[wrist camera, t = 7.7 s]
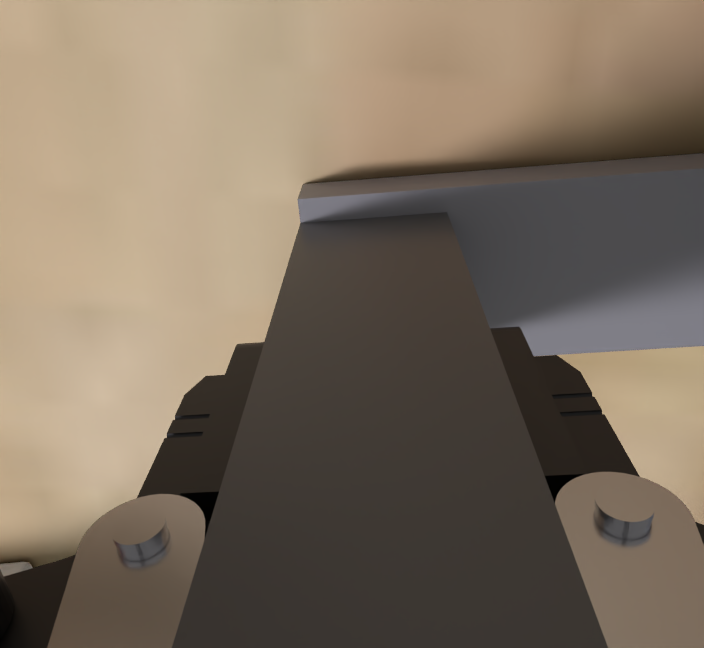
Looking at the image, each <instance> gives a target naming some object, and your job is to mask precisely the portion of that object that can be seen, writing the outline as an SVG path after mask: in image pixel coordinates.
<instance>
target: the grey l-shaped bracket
mask: <svg viewBox="0 0 704 648" xmlns="http://www.w3.org/2000/svg"><path fill="white" fill-rule="evenodd" d="M298 206H299V214H300V222H301V223H300V227H299V230H298V233H297V236H296V240H295V243H294V246H293V250H292V253H291V256H290V260H289V263H288V266H287V269H286V273H285V276H284V279H283V283H282V286H281V289H280V293H279V296H278V299H277V302H276V306H275V309H274V312H273V316H272V319H271V322H270V325H269V329H268V332H267V335H266V339H265V342H264V345H263V349H262V352H261V355H260V358H259V362H258V365H257V368H256V372H255V375H254V378H253V382H252V385H251V388H250V391H249V395H248V398H247V401H246V405H245V408H244V411H243V414H242V418H241V421H240V424H239V428H238V431H237V434H236V438H235V441H234V444H233V447H232V451H231V454H230V457H229V461H228V464H227V467H226V471H225V474H224V477H223V480H222V484H221V487H220V490H219V494H218V497H217V500H216V504H215V507H214V510H213V513H212V517H211V520H210V523H209V527H208V530H207V533H206V536H205V540H204V543H203V546H202V550H201V553H200V556H199V560H198V563H197V566H196V569H195V573H194V576H193V579H192V583H191V586H190V589H189V593H188V596H187V599H186V602H185V606H184V609H183V612H182V616H181V619H180V622H179V625H178V629H177V632H176V635H175V639H174V642H173V645H172V648H608V646H607V643H606V641H605V638H604V635H603V633H602V630H601V627H600V624H599V622H598V619H597V616H596V614H595V611H594V608H593V606H592V603H591V600H590V597H589V595H588V592H587V589H586V587H585V584H584V581H583V578H582V576H581V573H580V570H579V568H578V565H577V562H576V560H575V557H574V554H573V551H572V549H571V546H570V543H569V541H568V538H567V535H566V533H565V530H564V527H563V524H562V522H561V519H560V516H559V514H558V511H557V508H556V505H555V503H554V500H553V497H552V495H551V492H550V489H549V487H548V484H547V481H546V478H545V476H544V473H543V470H542V468H541V465H540V462H539V460H538V457H537V454H536V451H535V449H534V446H533V443H532V441H531V438H530V435H529V432H528V430H527V427H526V424H525V422H524V419H523V416H522V414H521V411H520V408H519V405H518V403H517V400H516V397H515V395H514V392H513V389H512V387H511V384H510V381H509V378H508V376H507V373H506V370H505V368H504V365H503V362H502V359H501V357H500V354H499V351H498V349H497V346H496V343H495V341H494V338H493V335H492V332H491V330H490V328H503V327H520V328H521V330H522V332H523V334H524V336H525V339H526V341H527V343H528V345H529V347H530V349H531V351H532V354H533V356H544V355H560V354H577V353H593V352H610V351H626V350H643V349H659V348H676V347H692V346H704V153H698V154H685V155H672V156H659V157H647V158H634V159H621V160H608V161H595V162H582V163H569V164H556V165H543V166H530V167H517V168H504V169H491V170H478V171H466V172H453V173H440V174H427V175H414V176H401V177H388V178H375V179H362V180H349V181H336V182H323V183H310V184H303V186H302V188H301V191H300V194H299V197H298Z"/></svg>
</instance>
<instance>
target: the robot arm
mask: <svg viewBox="0 0 704 648" xmlns="http://www.w3.org/2000/svg"><path fill="white" fill-rule="evenodd" d="M490 330H491V332H492V335H493V338H494V341H495V343H496V346H497V349H498V351H499V354H500V357H501V359H502V362H503V365H504V368H505V370H506V373H507V376H508V378H509V381H510V384H511V387H512V389H513V392H514V395H515V397H516V400H517V403H518V405H519V408H520V411H521V414H522V416H523V419H524V422H525V424H526V427H527V430H528V432H529V435H530V438H531V441H532V443H533V446H534V449H535V451H536V454H537V457H538V460H539V462H540V465H541V468H542V470H543V473H544V476H545V478H546V481H547V484H548V487H549V489H550V492H551V495H552V497H553V500H554V503H555V505H556V508H557V511H558V514H559V516H560V519H561V522H562V524H563V527H564V530H565V533H566V535H567V538H568V541H569V543H570V546H571V549H572V551H573V554H574V557H575V560H576V562H577V565H578V568H579V570H580V573H581V576H582V578H583V581H584V584H585V587H586V589H587V592H588V595H589V597H590V600H591V603H592V606H593V608H594V611H595V614H596V616H597V619H598V622H599V624H600V627H601V630H602V633H603V635H604V638H605V641H606V643H607V646H608V648H704V525H702V524H699V523H697V522H695V520H694V518H693V516H692V514H691V512H690V511H689V509H688V508H687V507H686V505H685V504H684V503H683V502H682V501H681V500H680V499H679V498H678V497H677V496H676V495H674V494H673V493H672V492H670V491H669V490H667V489H666V488H664V487H662V486H660V485H659V484H657V483H654V482H652V481H650V480H648V479H645V478H642V477H640V476H639V475H638V473H637V471H636V469H635V468H634V466H633V464H632V462H631V461H630V459H629V457H628V455H627V453H626V452H625V450H624V448H623V446H622V445H621V443H620V441H619V439H618V438H617V436H616V434H615V432H614V431H613V429H612V427H611V425H610V424H609V422H608V420H607V418H606V416H605V415H604V414H603V415H602V409H601V408H600V406H599V404H598V402H597V401H596V399H595V397H592V392H591V390H590V388H589V387H588V385H587V383H586V381H585V379H584V378H583V376H582V374H581V372H580V371H578V370H577V369H575V368H574V367H573V366H571V365H570V364H568V363H567V362H565V361H564V360H563V359H561V358H560V357H558V356H557V355H552V356H535V357H534V356H533V354H532V351H531V349H530V347H529V345H528V343H527V341H526V339H525V336H524V334H523V332H522V330H521V328H520V327H503V328H490ZM263 345H264V342H261V343H245V344H237V345H236V347H235V350H234V352H233V355H232V358H231V360H230V363H229V366H228V368H227V371H226V374H225V375H216V376H206V377H204V378H203V379H202V380H201V381H200V382H199V383H198V384H196V385H195V386H194V387H193V388H192V389H191V390H190V391H189V392H187V393H186V394H185V395H184V398H183V400H182V402H181V404H180V406H179V408H178V410H177V413H176V415H175V420H173V421H172V423H171V426H170V428H169V430H168V432H167V438H165V439H164V441H163V443H162V445H161V447H160V449H159V452H158V454H157V456H156V458H155V460H154V462H153V465H152V467H151V469H150V471H149V473H148V475H147V478H146V480H145V482H144V484H143V486H142V488H141V490H140V493H139V495H138V497H137V498H136V499H133V500H130V501H128V502H126V503H123V504H121V505H119V506H117V507H115V508H114V509H112V510H110V511H109V512H107V513H106V514H104V515H103V516H102V517H100V518H99V519H98V520H97V521H96V522H95V523H94V524H93V525H92V526H91V527H90V528H89V529H88V530H87V532H86V533H85V535H84V536H83V538H82V539H81V542H80V544H79V546H78V549H77V552H76V555H73V556H71V557H68V558H65V559H62V560H59V561H56V562H52V563H49V564H45V565H42V566H38V567H35V568H31V569H28V570H25V571H21V572H18V573H14V574H11V575H7V576H3V574H2V572H1V570H0V648H172V645H173V642H174V639H175V635H176V632H177V629H178V625H179V622H180V619H181V616H182V612H183V609H184V606H185V602H186V599H187V596H188V593H189V589H190V586H191V583H192V579H193V576H194V573H195V569H196V566H197V563H198V560H199V556H200V553H201V550H202V546H203V543H204V540H205V536H206V533H207V530H208V527H209V523H210V520H211V517H212V513H213V510H214V507H215V504H216V500H217V497H218V494H219V490H220V487H221V484H222V480H223V477H224V474H225V471H226V467H227V464H228V461H229V457H230V454H231V451H232V447H233V444H234V441H235V438H236V434H237V431H238V428H239V424H240V421H241V418H242V414H243V411H244V408H245V405H246V401H247V398H248V395H249V391H250V388H251V385H252V382H253V378H254V375H255V372H256V368H257V365H258V362H259V358H260V355H261V352H262V349H263Z"/></svg>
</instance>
